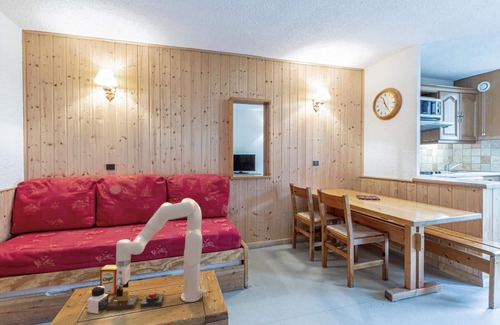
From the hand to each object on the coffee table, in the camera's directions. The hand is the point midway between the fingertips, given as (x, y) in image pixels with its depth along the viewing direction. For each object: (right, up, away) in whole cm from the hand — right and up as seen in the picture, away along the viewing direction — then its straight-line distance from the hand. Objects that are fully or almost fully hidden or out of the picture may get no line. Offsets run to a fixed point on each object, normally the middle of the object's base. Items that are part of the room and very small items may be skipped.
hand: (122, 291), depth 142 cm
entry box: (+16, -8, +3) cm, 18 cm away
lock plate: (0, -7, 0) cm, 7 cm away
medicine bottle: (-11, -7, -5) cm, 14 cm away
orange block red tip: (0, -5, 0) cm, 5 cm away
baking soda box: (-14, -7, +13) cm, 20 cm away
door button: (+16, -4, +3) cm, 17 cm away
